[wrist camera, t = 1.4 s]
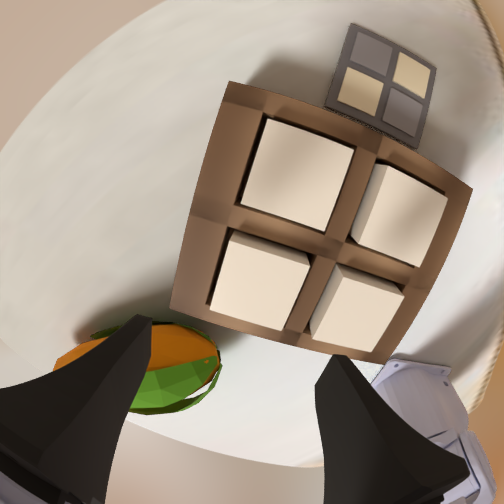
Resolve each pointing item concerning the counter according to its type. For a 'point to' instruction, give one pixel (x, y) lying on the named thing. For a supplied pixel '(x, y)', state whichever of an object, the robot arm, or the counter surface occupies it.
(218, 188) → the button board
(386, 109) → the card
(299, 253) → the button
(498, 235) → the counter surface
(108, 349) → the robot arm
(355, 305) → the button
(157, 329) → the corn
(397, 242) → the button
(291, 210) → the button
